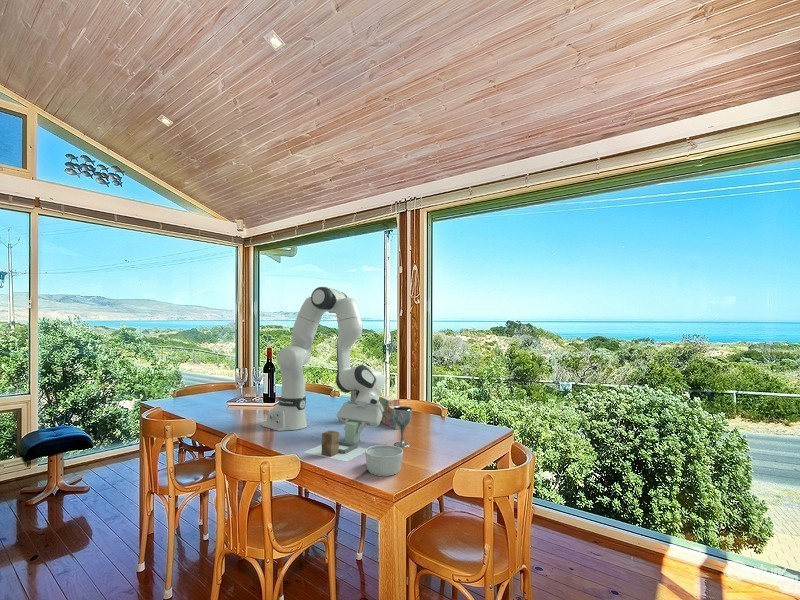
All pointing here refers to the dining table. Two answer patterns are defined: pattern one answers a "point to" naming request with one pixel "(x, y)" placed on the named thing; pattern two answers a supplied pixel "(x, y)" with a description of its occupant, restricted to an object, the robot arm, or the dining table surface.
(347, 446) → the board
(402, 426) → the wine glass
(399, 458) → the ramekin
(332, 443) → the walnut block
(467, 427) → the dining table surface
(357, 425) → the sage block
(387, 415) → the colourful cardboard box
